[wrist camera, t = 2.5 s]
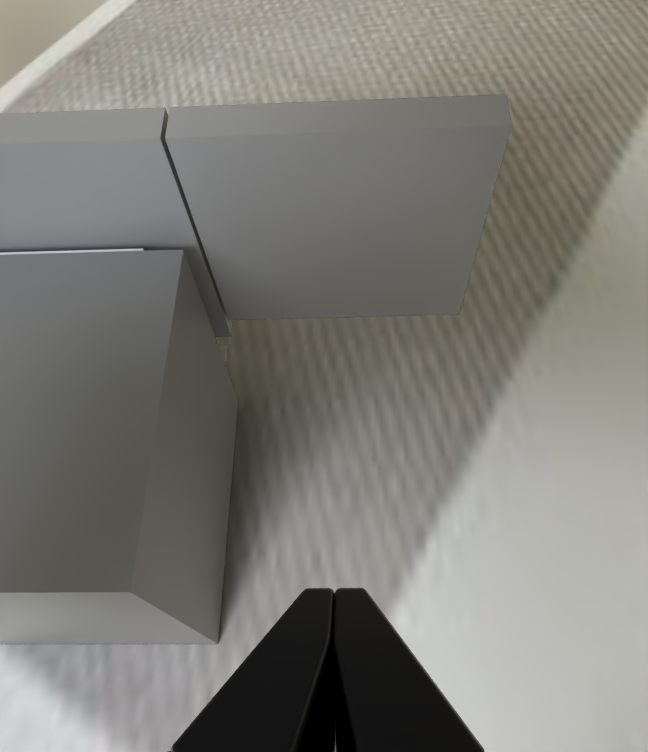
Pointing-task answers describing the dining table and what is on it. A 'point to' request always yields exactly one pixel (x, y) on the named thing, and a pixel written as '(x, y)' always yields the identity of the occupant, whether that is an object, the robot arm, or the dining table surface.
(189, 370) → the grey box
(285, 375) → the dining table surface
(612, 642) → the dining table surface
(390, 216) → the side door
